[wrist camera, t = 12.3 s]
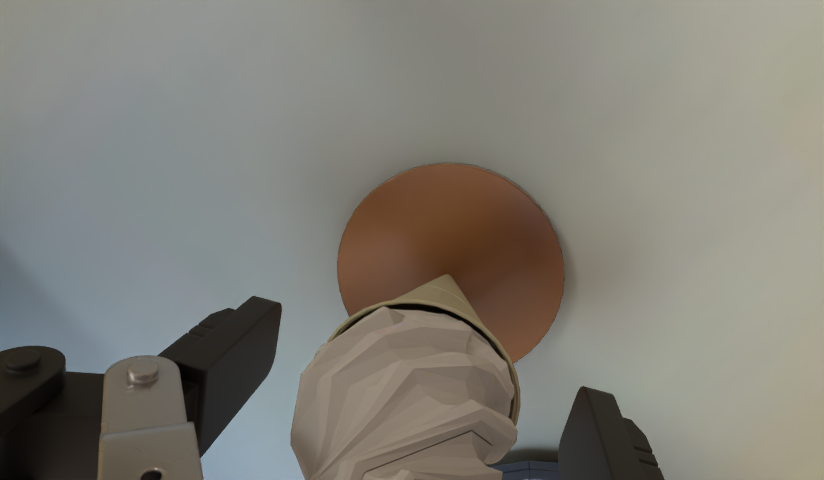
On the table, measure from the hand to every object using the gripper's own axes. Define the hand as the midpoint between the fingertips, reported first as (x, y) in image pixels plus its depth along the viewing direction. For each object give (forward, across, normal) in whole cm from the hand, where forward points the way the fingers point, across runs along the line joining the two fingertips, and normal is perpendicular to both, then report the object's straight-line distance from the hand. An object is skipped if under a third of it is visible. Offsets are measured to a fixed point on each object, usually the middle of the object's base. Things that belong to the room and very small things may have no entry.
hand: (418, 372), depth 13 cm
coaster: (+8, 0, 0) cm, 8 cm away
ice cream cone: (+7, 0, 0) cm, 7 cm away
